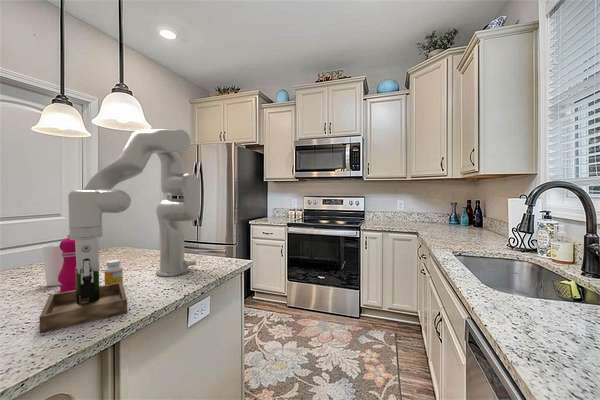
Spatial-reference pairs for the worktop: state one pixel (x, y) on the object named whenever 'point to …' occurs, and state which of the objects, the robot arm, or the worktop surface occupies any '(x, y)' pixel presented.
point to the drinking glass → (52, 263)
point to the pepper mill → (68, 265)
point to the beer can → (89, 300)
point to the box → (82, 308)
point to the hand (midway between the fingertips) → (88, 293)
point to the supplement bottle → (113, 272)
